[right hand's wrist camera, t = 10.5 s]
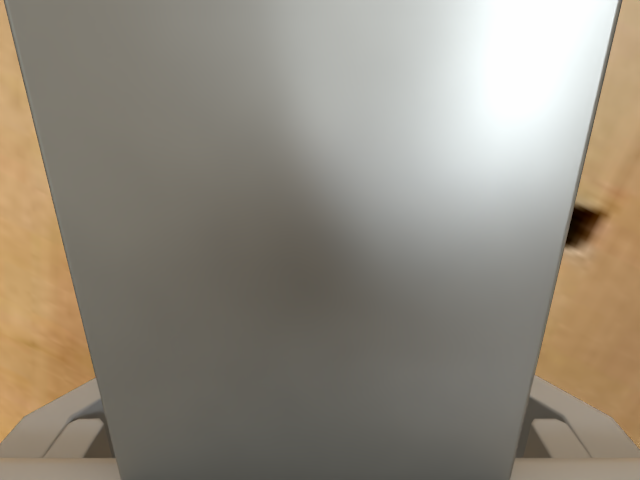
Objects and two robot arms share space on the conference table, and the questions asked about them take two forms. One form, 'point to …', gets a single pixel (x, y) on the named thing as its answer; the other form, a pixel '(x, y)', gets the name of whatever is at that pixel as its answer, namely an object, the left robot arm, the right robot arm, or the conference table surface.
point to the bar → (314, 221)
